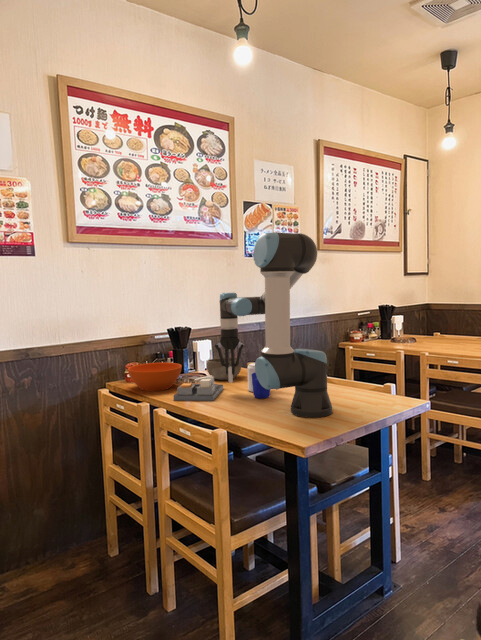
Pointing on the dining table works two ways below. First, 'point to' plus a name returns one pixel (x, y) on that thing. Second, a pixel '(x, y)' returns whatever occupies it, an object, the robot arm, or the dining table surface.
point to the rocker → (201, 378)
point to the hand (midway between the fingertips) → (230, 381)
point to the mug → (259, 388)
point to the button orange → (186, 385)
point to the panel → (198, 393)
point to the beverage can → (250, 376)
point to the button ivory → (205, 383)
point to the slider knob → (211, 380)
